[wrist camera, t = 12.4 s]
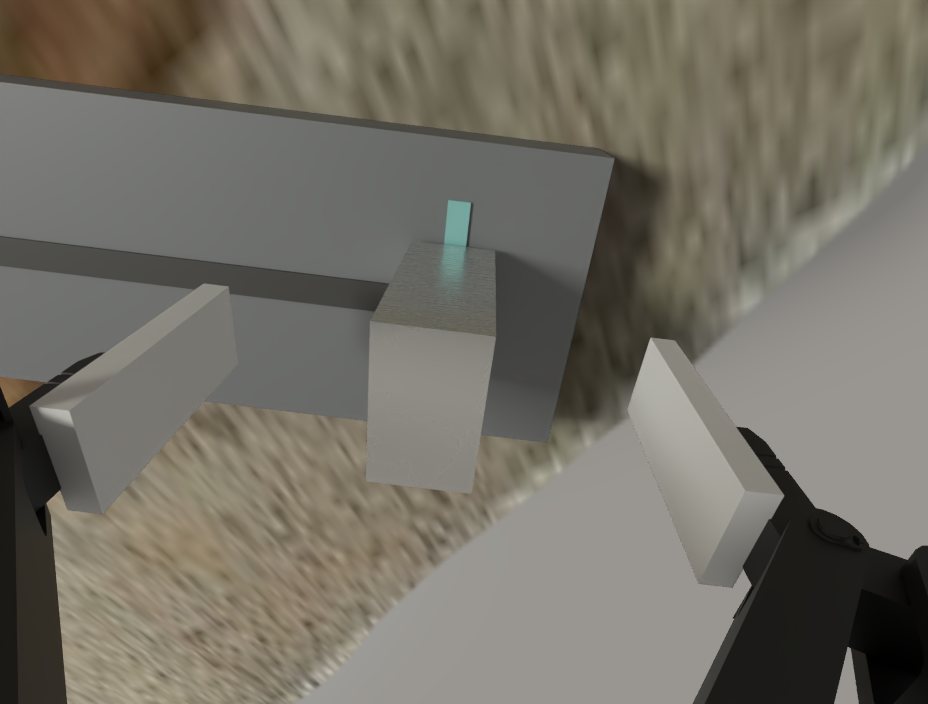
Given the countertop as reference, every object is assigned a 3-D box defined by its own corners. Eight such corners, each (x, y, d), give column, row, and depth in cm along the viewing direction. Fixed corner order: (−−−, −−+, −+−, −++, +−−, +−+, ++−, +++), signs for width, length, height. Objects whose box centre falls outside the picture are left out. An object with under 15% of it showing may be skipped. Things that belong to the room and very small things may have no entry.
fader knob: (404, 361, 20) (365, 481, 14) (412, 240, 18) (369, 321, 12) (478, 370, 20) (471, 493, 14) (495, 250, 18) (496, 336, 12)
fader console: (-20, 337, 25) (-83, 368, 22) (-127, 58, 19) (-229, 53, 17) (541, 405, 25) (547, 444, 22) (598, 148, 19) (615, 158, 17)
